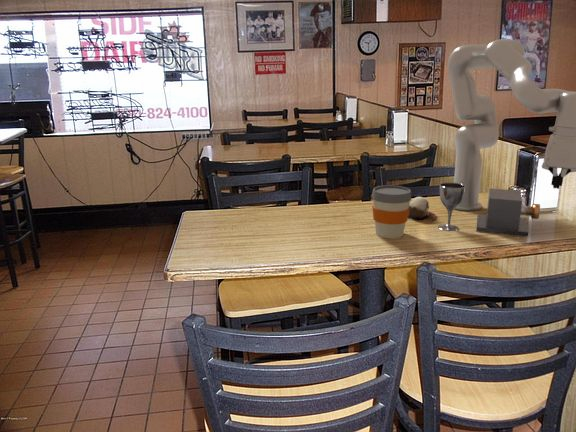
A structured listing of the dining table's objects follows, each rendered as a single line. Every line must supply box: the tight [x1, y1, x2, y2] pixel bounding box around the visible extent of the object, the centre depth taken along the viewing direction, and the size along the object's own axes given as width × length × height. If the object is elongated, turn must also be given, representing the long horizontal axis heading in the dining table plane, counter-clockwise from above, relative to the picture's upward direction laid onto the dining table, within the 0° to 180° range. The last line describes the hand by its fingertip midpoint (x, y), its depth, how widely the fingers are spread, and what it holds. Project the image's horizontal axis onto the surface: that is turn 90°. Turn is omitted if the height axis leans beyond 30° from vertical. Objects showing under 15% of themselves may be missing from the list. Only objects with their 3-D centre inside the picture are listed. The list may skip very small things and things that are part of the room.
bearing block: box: [475, 188, 530, 238], centre depth 184 cm, size 16×16×12 cm
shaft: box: [486, 203, 541, 220], centre depth 183 cm, size 16×5×5 cm, turn 70°
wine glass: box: [437, 181, 465, 232], centre depth 183 cm, size 8×8×15 cm
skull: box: [407, 196, 437, 223], centre depth 197 cm, size 12×10×10 cm
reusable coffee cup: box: [371, 184, 412, 239], centre depth 177 cm, size 13×13×15 cm
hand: (555, 187), depth 177 cm, fingers closed
